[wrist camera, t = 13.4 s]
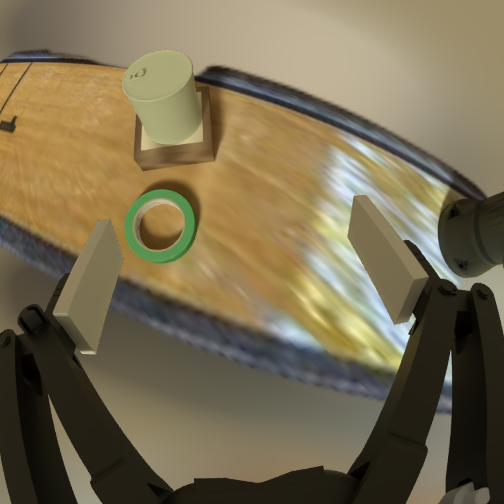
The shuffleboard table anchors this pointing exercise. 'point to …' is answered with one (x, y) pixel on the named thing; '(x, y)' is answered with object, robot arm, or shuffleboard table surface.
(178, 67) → the can
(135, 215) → the tape roll
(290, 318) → the shuffleboard table surface
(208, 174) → the shuffleboard table surface
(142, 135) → the plinth
